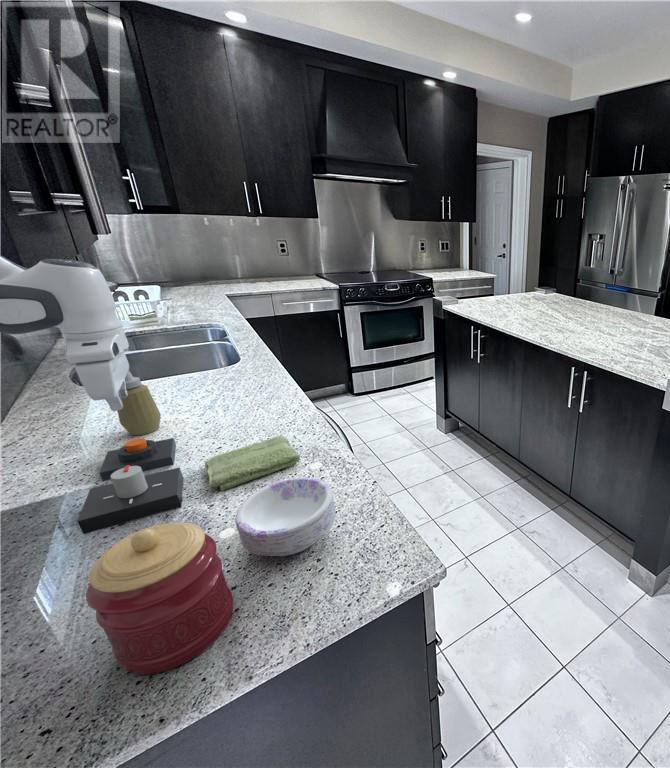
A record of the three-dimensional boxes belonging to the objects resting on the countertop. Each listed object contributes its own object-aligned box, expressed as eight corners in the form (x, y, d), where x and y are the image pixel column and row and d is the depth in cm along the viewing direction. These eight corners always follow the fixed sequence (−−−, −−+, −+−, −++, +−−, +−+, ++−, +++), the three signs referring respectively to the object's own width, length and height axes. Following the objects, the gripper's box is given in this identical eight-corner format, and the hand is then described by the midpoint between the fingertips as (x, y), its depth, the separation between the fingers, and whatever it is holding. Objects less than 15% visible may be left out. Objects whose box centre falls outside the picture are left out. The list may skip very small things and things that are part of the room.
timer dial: (146, 493, 79) (138, 473, 77) (115, 501, 76) (107, 480, 75) (149, 482, 82) (142, 462, 80) (120, 488, 80) (112, 468, 78)
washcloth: (202, 467, 92) (199, 455, 91) (287, 442, 103) (284, 431, 102) (212, 495, 83) (208, 483, 82) (303, 465, 95) (301, 453, 93)
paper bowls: (231, 578, 65) (219, 540, 62) (259, 515, 79) (250, 481, 76) (332, 561, 69) (326, 524, 66) (342, 504, 83) (337, 471, 80)
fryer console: (83, 534, 72) (76, 520, 71) (95, 500, 81) (89, 487, 79) (181, 506, 80) (176, 493, 79) (183, 478, 88) (179, 466, 87)
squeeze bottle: (163, 433, 105) (141, 368, 98) (121, 441, 101) (96, 374, 94) (166, 420, 111) (146, 359, 105) (127, 427, 107) (103, 364, 100)
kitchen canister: (235, 644, 55) (203, 546, 49) (108, 699, 49) (49, 593, 42) (234, 577, 65) (207, 487, 59) (128, 615, 59) (84, 518, 52)
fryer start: (125, 454, 90) (122, 447, 89) (127, 447, 92) (125, 440, 92) (146, 450, 92) (144, 443, 91) (148, 443, 94) (146, 436, 94)
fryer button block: (102, 481, 86) (96, 465, 85) (110, 459, 94) (104, 444, 92) (173, 464, 93) (168, 449, 91) (176, 445, 100) (171, 431, 99)
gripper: (87, 331, 88) (108, 389, 94) (63, 358, 73) (90, 425, 78) (125, 328, 92) (144, 384, 97) (110, 353, 76) (133, 418, 82)
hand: (120, 403), depth 87 cm, fingers open, 5 cm apart
